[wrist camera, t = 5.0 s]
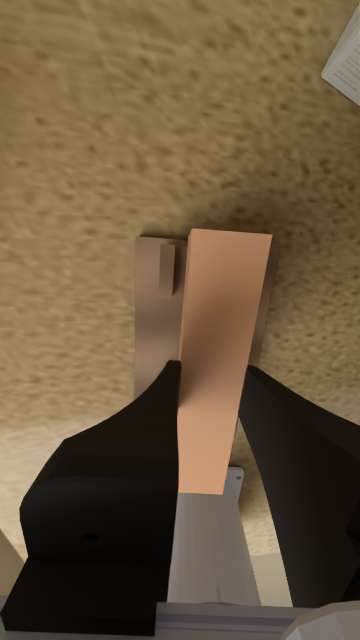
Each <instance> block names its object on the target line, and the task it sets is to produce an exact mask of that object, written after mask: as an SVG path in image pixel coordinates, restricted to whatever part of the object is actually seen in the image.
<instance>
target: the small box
mask: <svg viewBox="0 0 360 640" xmlns="http://www.w3.org/2000/svg"><path fill="white" fill-rule="evenodd" d="M321 76H322V78H323V79H324V80H326V81H327V82H328V83H330V84H331V85H332V86H333V87H335V88H336V89H337V90H339V91H340V92H341V93H342V94H344V95H345V96H347V97H348V98H349V99H351V100H352V101H353V102H355V103H356V104H357V105H359V106H360V3H359V5H358V6H357V8H356V10H355V12H354V14H353V16H352V17H351V19H350V21H349V23H348V25H347V26H346V28H345V30H344V32H343V34H342V35H341V37H340V39H339V41H338V43H337V45H336V46H335V48H334V50H333V52H332V54H331V56H330V58H329V60H328V61H327V63H326V65H325V67H324V69H323V71H322V73H321Z"/></svg>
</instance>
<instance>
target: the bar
mask: <svg viewBox="0 0 360 640" xmlns="http://www.w3.org/2000/svg"><path fill="white" fill-rule="evenodd" d="M271 240H272V234H259V233H246V232H233V231H220V230H207V229H194V228H192V230H191V232H190V234H189V236H188V248H187V261H186V274H185V286H184V299H183V312H182V325H181V338H180V351H179V361H181V365H182V369H181V381H180V393H179V406H178V416H177V429H178V452H179V489H178V492H181V493H200V494H219V495H222V494H223V489H224V484H225V479H226V474H227V469H228V463H229V458H230V453H231V448H232V443H233V437H234V432H235V427H236V422H237V417H238V409H239V404H240V398H241V393H242V388H243V383H244V378H245V372H246V369H247V365H248V359H249V354H250V349H251V344H252V339H253V333H254V328H255V323H256V318H257V313H258V307H259V302H260V297H261V292H262V287H263V281H264V276H265V271H266V266H267V261H268V255H269V250H270V245H271Z"/></svg>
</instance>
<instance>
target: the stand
mask: <svg viewBox="0 0 360 640" xmlns="http://www.w3.org/2000/svg"><path fill="white" fill-rule="evenodd" d="M187 248H188V240H177V239H164V238H151V237H138V236H136V263H135V381H134V400H135V399H136V398H138V397H139V396H140V395H141V394H142V393H143V392H144V391H145V390H146V389H147V388H148V387H149V386H150V385H151V384H152V383H153V381H154V380H155V379H156V378H157V376H158V375H159V374H160V373H161V371H162V370H163V368H164V367H165V365H166V363H167V361H169V360H178V361H179V351H180V338H181V325H182V312H183V299H184V286H185V274H186V261H187ZM280 249H281V247H270V250H269V255H268V261H267V266H266V271H265V276H264V281H263V287H262V292H261V297H260V302H259V307H258V313H257V318H256V323H255V328H254V333H253V339H252V344H251V349H250V354H249V359H248V365H253V366H255V367H257V363H258V358H259V353H260V348H261V343H262V338H263V333H264V328H265V323H266V318H267V313H268V308H269V303H270V298H271V293H272V289H273V284H274V279H275V274H276V269H277V264H278V259H279V254H280ZM238 418H239V415H238V417H237V422H236V427H235V432H234V437H233V438H235V434H236V429H237V424H238Z"/></svg>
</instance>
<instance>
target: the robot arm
mask: <svg viewBox="0 0 360 640" xmlns="http://www.w3.org/2000/svg"><path fill="white" fill-rule="evenodd" d="M181 369H182V365H181V361H178V360H169V361H167V363H166V365H165V367H164V368H163V370H162V371H161V373H160V374H159V375H158V376H157V378H156V379H155V380H154V381H153V383H152V384H151V385H150V386H149V387H148V388H147V389H146V390H145V391H144V392H143V393H142V394H141V395H140V396H139V397H138V398H136V399H135V400H134V401H133V402H132V403H130V404H129V405H128V406H126V407H125V408H123V409H122V410H121V411H119V412H118V413H116V414H114V415H113V416H111V417H110V418H108V419H106V420H104V421H102V422H101V423H99V424H97V425H95V426H93V427H91V428H89V429H87V430H84V431H82V432H80V433H78V434H76V435H74V436H71V437H69V438H67V439H64V440H63V442H62V443H61V444H60V446H59V447H58V448H57V449H56V451H55V452H54V453H53V454H52V456H51V457H50V458H49V460H48V461H47V462H46V464H45V465H44V467H43V468H42V470H41V471H40V473H39V475H38V476H37V478H36V479H35V481H34V482H33V484H32V485H31V487H30V489H29V490H28V492H27V493H26V495H25V496H24V498H23V501H22V503H21V506H20V508H19V509H20V522H21V527H22V531H23V535H24V540H25V544H26V548H27V553H28V558H27V560H26V562H25V564H24V566H23V568H22V570H21V573H20V574H19V576H18V578H17V580H16V583H15V584H14V586H13V588H12V590H11V592H10V594H9V596H1V595H0V640H360V426H359V425H357V424H355V423H353V422H350V421H348V420H346V419H343V418H341V417H339V416H337V415H335V414H333V413H331V412H329V411H327V410H325V409H323V408H321V407H319V406H317V405H315V404H314V403H312V402H310V401H308V400H307V399H305V398H303V397H301V396H300V395H298V394H297V393H295V392H293V391H292V390H290V389H288V388H287V387H285V386H284V385H282V384H281V383H279V382H278V381H276V380H275V379H273V378H272V377H270V376H269V375H267V374H266V373H264V372H263V371H261V370H260V369H258V368H257V367H255V366H253V365H247V369H246V372H245V378H244V383H243V388H242V393H241V398H240V404H239V409H238V415H239V418H240V421H241V424H242V426H243V429H244V432H245V434H246V437H247V439H248V442H249V444H250V447H251V450H252V452H253V455H254V457H255V460H256V463H257V466H258V468H259V471H260V475H261V478H262V482H263V485H264V489H265V492H266V496H267V499H268V503H269V507H270V511H271V515H272V519H273V522H274V526H275V530H276V534H277V539H278V543H279V547H280V551H281V555H282V559H283V564H284V568H285V572H286V577H287V581H288V585H289V591H290V595H291V600H292V604H293V607H272V606H271V607H270V606H261V602H260V598H259V594H258V589H257V585H256V581H255V576H254V572H253V568H252V563H251V559H250V555H249V550H248V546H247V542H246V537H245V533H244V529H243V525H242V520H241V516H240V512H239V507H238V500H239V495H240V491H241V486H242V481H243V477H244V471H243V469H242V468H240V467H228V469H227V474H226V479H225V484H224V489H223V494H222V495H219V494H200V493H181V492H178V489H179V452H178V429H177V416H178V406H179V393H180V381H181Z"/></svg>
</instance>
